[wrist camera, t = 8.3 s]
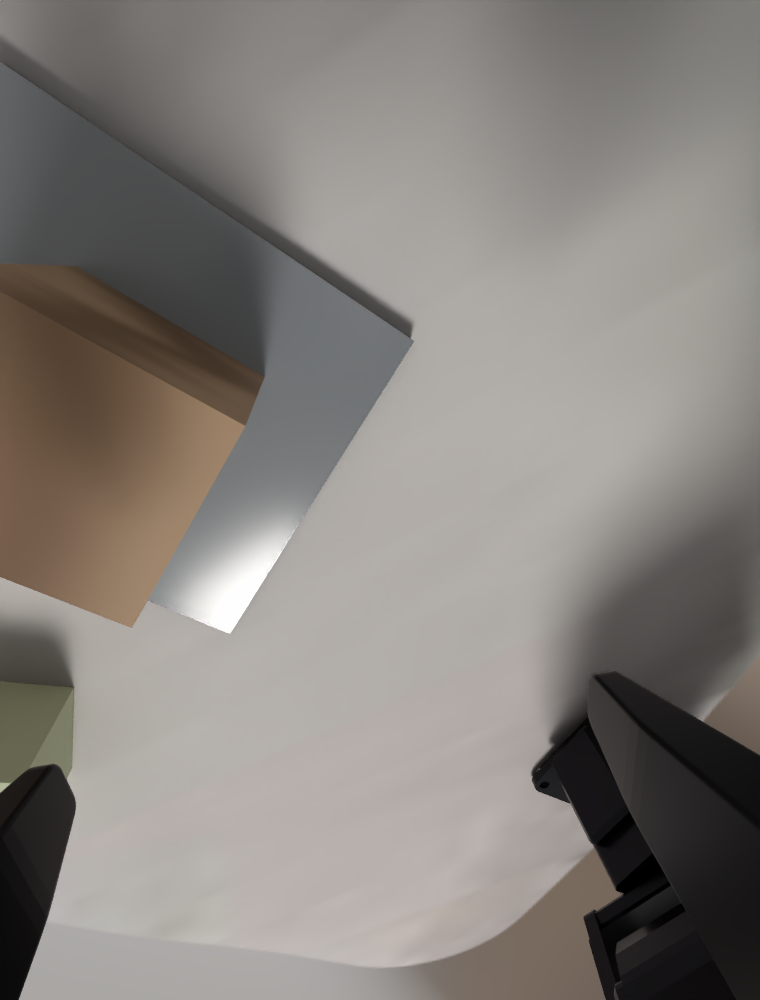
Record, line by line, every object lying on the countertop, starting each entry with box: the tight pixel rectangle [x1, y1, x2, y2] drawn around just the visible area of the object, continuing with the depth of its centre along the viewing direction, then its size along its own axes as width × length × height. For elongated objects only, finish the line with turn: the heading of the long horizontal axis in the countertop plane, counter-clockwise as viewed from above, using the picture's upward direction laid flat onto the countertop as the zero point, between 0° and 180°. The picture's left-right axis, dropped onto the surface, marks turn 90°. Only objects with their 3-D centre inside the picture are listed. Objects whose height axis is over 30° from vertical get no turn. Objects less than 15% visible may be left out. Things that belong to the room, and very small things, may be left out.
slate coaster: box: [0, 62, 414, 634], centre depth 17 cm, size 13×13×1 cm
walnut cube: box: [0, 264, 264, 628], centre depth 14 cm, size 6×6×6 cm
